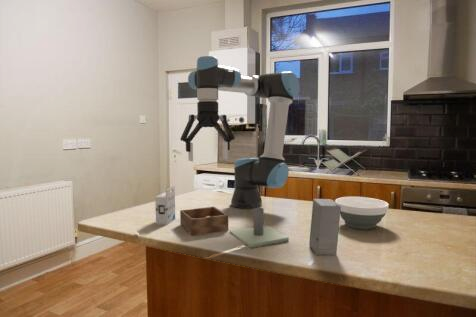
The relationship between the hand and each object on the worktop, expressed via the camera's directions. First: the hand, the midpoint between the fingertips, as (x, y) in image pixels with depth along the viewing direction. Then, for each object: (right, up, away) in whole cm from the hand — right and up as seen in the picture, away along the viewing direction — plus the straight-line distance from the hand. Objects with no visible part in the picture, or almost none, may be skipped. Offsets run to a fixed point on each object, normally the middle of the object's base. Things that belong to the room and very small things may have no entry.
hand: (208, 160), depth 122 cm
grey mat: (+18, -27, -6) cm, 33 cm away
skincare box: (+38, -29, -17) cm, 50 cm away
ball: (-1, -25, +8) cm, 26 cm away
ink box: (-18, -26, +11) cm, 33 cm away
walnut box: (-2, -26, +4) cm, 27 cm away
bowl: (+59, -26, +9) cm, 65 cm away
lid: (+18, -27, -6) cm, 33 cm away
